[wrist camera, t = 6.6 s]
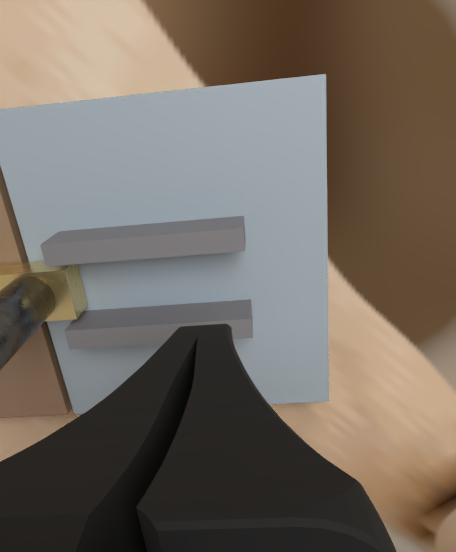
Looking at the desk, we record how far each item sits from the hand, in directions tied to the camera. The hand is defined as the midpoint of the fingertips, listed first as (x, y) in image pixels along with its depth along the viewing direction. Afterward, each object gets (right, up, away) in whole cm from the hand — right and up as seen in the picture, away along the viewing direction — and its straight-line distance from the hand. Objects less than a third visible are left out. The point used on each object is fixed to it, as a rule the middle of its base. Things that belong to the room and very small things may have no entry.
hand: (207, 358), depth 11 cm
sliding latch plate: (-6, +2, +7) cm, 9 cm away
